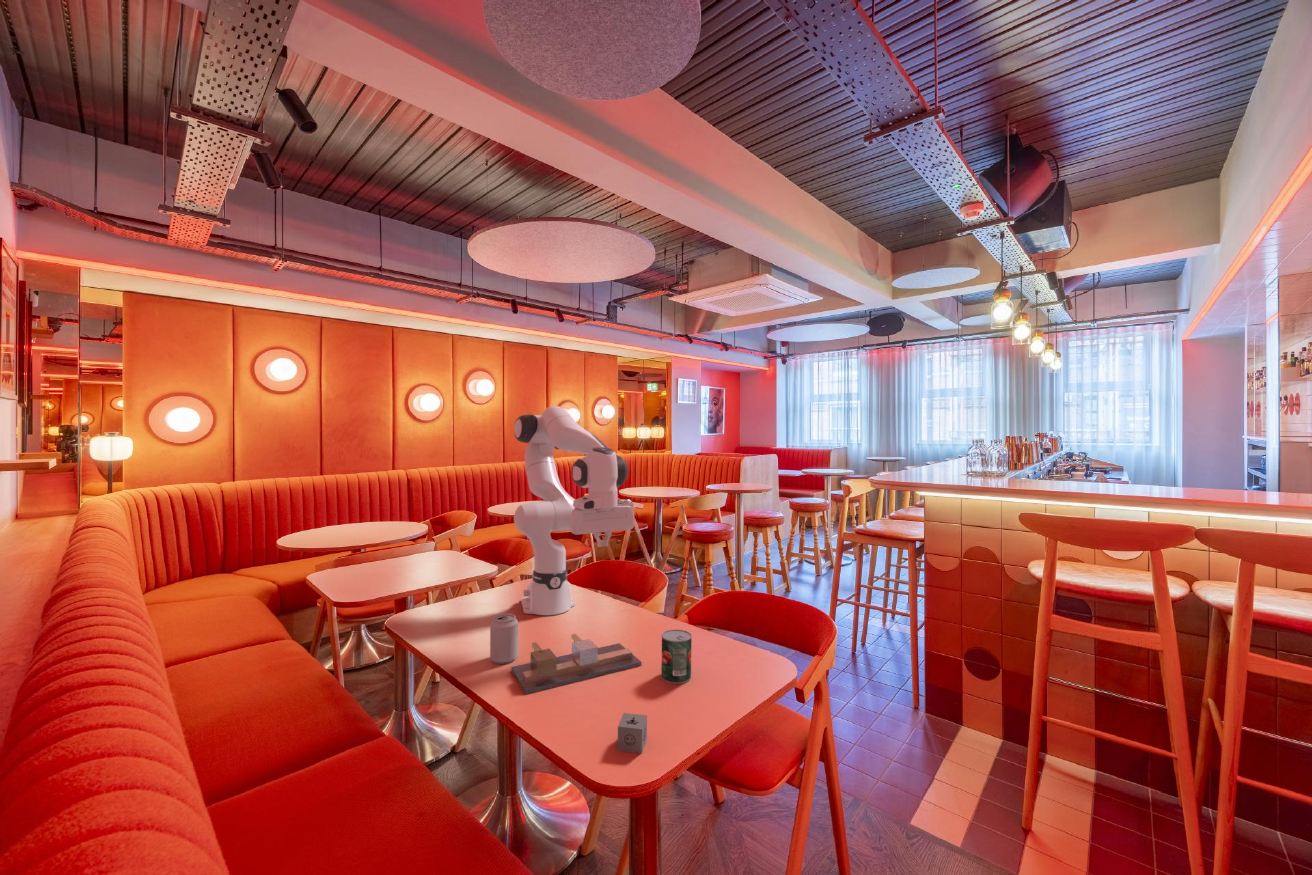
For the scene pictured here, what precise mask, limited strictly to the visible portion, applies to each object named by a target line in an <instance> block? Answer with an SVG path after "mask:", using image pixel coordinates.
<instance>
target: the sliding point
mask: <svg viewBox="0 0 1312 875" xmlns="http://www.w3.org/2000/svg"><path fill="white" fill-rule="evenodd" d="M570 637H571V640H572V641H573V642H571V654H572V658H573V659H574V660H575V661H576V662H577V663H578V665H579V666H583V665H587V664H591V663H596V662H598V648H599V647H598V645H596V643H594V642H593V641H592V640H591V639H590V638H588V639H582V638H581V637H580V636H578V634H576V633H571V636H570Z"/></svg>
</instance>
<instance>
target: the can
mask: <svg viewBox="0 0 1312 875" xmlns="http://www.w3.org/2000/svg"><path fill="white" fill-rule="evenodd" d="M489 628H490V629H489V630H490V632H489V633H490V634H489V636H490V637H489V638H490V639H489V640H490V642H489V643H490V644H489V647H490V648H489V655H490V656H489V658H490V660H491V661H492V662H493V663H495V664H498V665H500V664H501V665H504V664H509V663H511V662H513V661H515V659H517V658H518V655H519V621H518V619H517V616H516V615H515V614H513V613H500V614H497V615H495V616H493V617H492V621H491V622H490V626H489Z"/></svg>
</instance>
